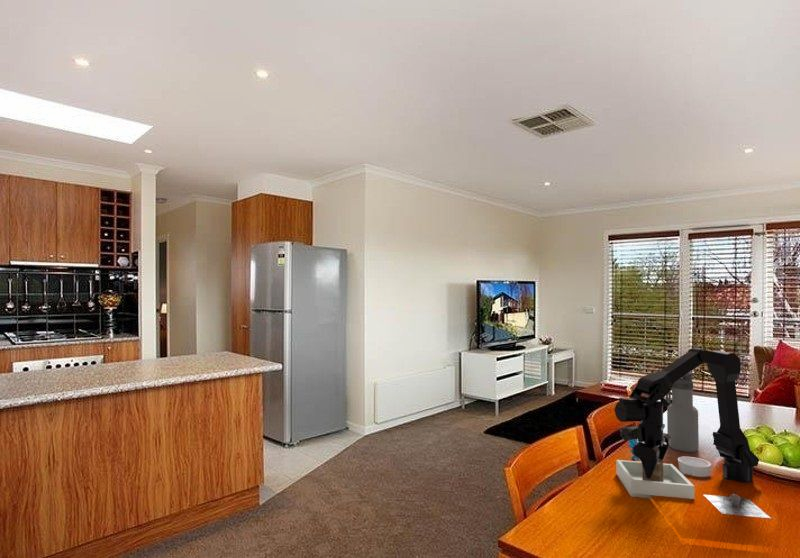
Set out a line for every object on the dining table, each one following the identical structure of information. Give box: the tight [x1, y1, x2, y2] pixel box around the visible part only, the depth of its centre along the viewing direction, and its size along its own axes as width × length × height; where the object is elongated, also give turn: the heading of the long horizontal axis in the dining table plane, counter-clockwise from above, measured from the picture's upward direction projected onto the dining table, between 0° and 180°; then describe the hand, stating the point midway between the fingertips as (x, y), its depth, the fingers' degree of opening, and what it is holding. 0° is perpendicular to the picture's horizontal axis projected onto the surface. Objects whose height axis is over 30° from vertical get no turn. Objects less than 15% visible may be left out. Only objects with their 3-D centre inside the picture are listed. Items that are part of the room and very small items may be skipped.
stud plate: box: [703, 493, 771, 519], centre depth 119 cm, size 11×11×4 cm
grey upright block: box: [642, 459, 664, 482], centre depth 133 cm, size 4×4×7 cm
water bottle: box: [665, 371, 700, 453], centre depth 166 cm, size 10×10×28 cm
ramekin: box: [677, 456, 712, 478], centre depth 142 cm, size 9×9×4 cm
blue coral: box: [627, 439, 643, 461], centre depth 154 cm, size 11×6×10 cm
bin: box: [616, 459, 695, 500], centre depth 133 cm, size 16×16×4 cm
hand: (652, 473), depth 133 cm, fingers open, 9 cm apart
